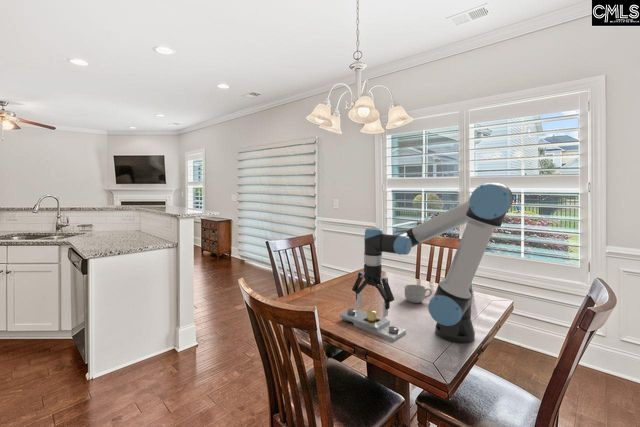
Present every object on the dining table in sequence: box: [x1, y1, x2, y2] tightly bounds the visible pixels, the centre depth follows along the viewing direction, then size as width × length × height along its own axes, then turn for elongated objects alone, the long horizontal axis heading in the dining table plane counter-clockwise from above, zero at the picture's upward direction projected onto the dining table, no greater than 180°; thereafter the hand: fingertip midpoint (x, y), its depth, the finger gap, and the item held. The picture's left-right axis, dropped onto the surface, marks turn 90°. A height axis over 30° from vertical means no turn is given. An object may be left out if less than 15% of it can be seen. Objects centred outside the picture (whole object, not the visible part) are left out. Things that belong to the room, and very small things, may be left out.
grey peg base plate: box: [339, 307, 407, 342], centre depth 142 cm, size 28×10×4 cm, turn 46°
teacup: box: [403, 284, 433, 304], centre depth 172 cm, size 14×11×8 cm
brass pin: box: [366, 308, 377, 324], centre depth 142 cm, size 4×4×7 cm
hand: (371, 311), depth 142 cm, fingers open, 13 cm apart
